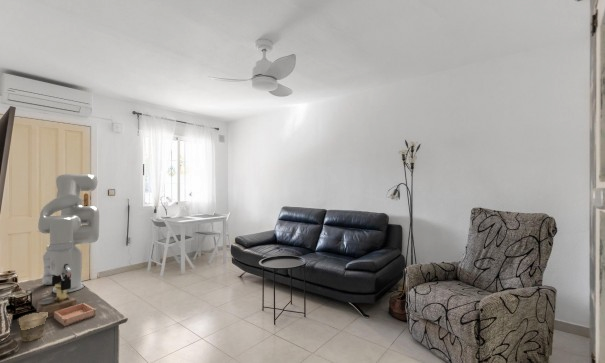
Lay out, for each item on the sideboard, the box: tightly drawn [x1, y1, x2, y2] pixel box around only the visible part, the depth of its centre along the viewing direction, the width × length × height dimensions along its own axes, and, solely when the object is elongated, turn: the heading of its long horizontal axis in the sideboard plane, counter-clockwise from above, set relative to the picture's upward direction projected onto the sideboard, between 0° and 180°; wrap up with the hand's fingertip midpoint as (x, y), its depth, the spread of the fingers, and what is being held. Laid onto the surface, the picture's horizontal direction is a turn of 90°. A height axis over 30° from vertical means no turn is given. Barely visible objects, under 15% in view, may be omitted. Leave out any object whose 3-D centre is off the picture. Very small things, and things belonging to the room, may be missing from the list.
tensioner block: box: [36, 293, 77, 319], centre depth 118 cm, size 10×10×6 cm
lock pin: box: [54, 282, 67, 303], centre depth 120 cm, size 4×4×11 cm
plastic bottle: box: [42, 245, 53, 286], centre depth 147 cm, size 6×7×20 cm
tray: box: [53, 302, 96, 327], centre depth 113 cm, size 11×10×2 cm
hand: (61, 287), depth 119 cm, fingers open, 9 cm apart
